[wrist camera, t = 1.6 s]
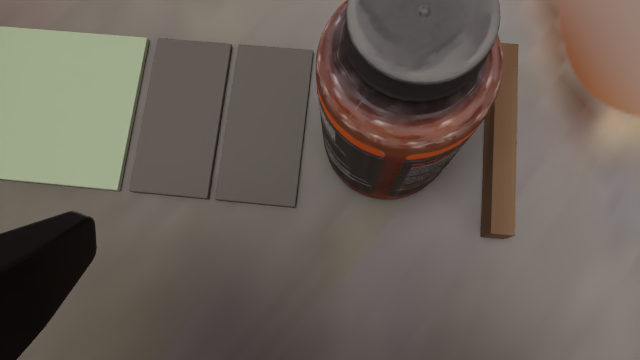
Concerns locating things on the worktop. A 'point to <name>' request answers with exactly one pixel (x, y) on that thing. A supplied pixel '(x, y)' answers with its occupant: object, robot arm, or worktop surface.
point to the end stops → (501, 153)
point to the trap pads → (242, 123)
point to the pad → (67, 106)
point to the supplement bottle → (405, 88)
